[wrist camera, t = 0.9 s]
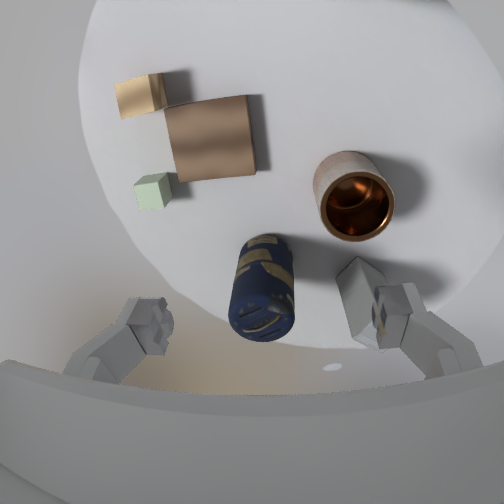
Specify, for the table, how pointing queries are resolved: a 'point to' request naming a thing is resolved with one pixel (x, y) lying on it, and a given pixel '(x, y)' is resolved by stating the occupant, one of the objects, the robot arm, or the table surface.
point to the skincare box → (360, 300)
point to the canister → (263, 290)
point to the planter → (352, 197)
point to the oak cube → (141, 95)
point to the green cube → (153, 191)
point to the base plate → (211, 139)
